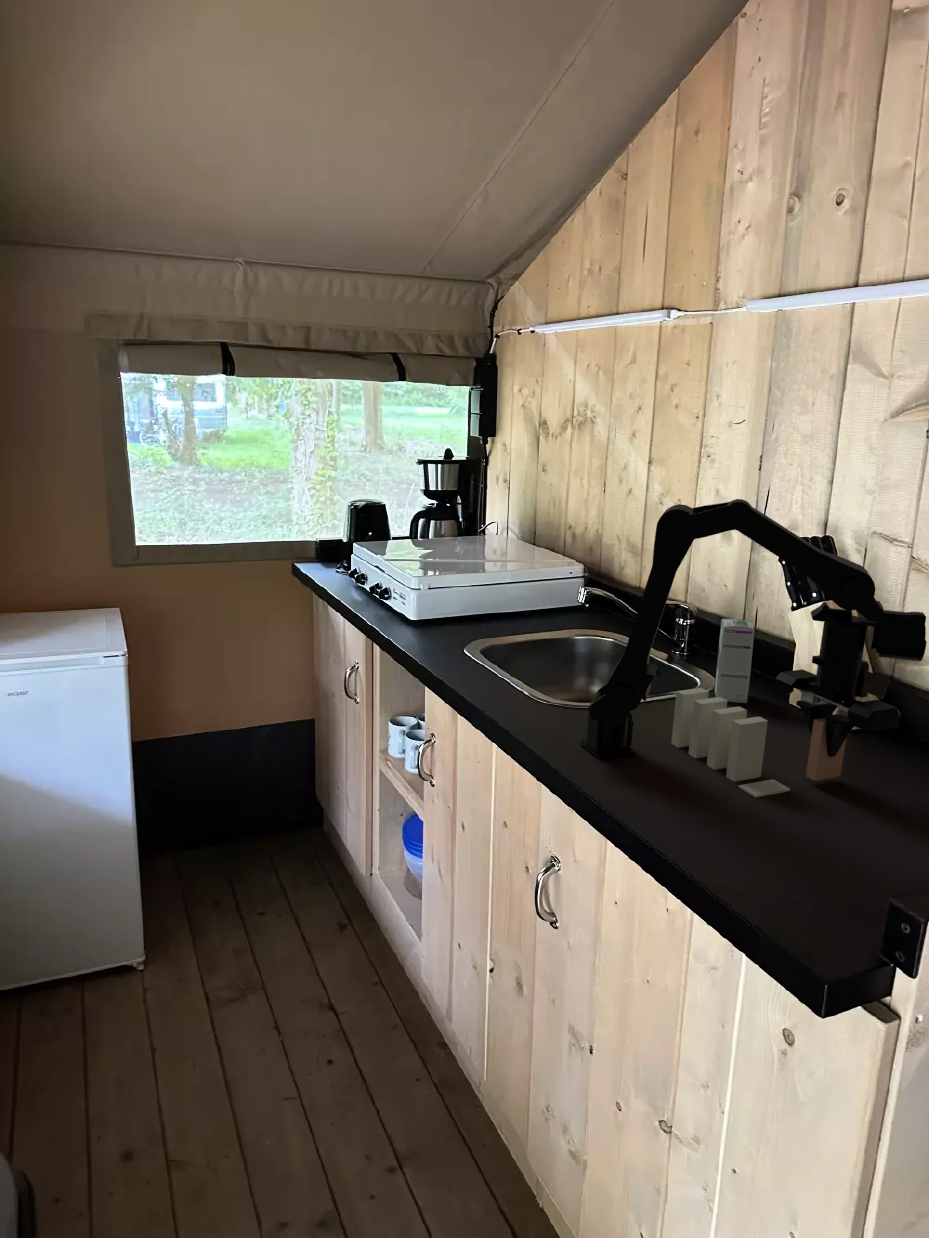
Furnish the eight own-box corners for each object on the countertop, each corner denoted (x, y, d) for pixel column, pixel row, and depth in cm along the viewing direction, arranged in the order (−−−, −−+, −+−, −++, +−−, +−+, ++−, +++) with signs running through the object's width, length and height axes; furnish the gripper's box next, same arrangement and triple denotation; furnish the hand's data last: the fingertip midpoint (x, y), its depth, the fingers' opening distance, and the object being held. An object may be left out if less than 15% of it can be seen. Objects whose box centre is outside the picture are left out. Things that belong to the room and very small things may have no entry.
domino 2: (721, 754, 144) (727, 700, 141) (695, 758, 142) (701, 704, 139) (714, 749, 145) (719, 696, 143) (688, 753, 143) (694, 700, 141)
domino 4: (760, 776, 136) (767, 720, 134) (734, 781, 134) (740, 724, 132) (752, 772, 137) (759, 716, 135) (726, 776, 135) (732, 720, 133)
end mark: (755, 797, 129) (755, 795, 129) (738, 787, 132) (738, 785, 132) (790, 790, 131) (790, 789, 131) (772, 780, 135) (772, 779, 134)
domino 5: (840, 776, 135) (849, 719, 132) (814, 781, 133) (823, 723, 130) (831, 771, 136) (839, 715, 134) (805, 776, 134) (813, 719, 132)
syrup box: (747, 703, 167) (757, 628, 163) (714, 700, 168) (723, 625, 165) (744, 693, 173) (753, 620, 169) (712, 690, 174) (721, 617, 170)
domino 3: (740, 765, 140) (747, 710, 138) (714, 769, 138) (720, 714, 136) (732, 760, 141) (739, 706, 139) (706, 765, 139) (712, 710, 137)
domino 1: (703, 743, 148) (709, 691, 145) (678, 747, 146) (683, 694, 143) (696, 739, 149) (701, 687, 147) (671, 743, 147) (676, 691, 145)
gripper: (937, 666, 125) (918, 771, 129) (833, 631, 141) (820, 724, 145) (878, 674, 120) (860, 782, 124) (778, 636, 137) (765, 733, 141)
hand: (826, 753), depth 134 cm, fingers closed on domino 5, 2 cm apart
